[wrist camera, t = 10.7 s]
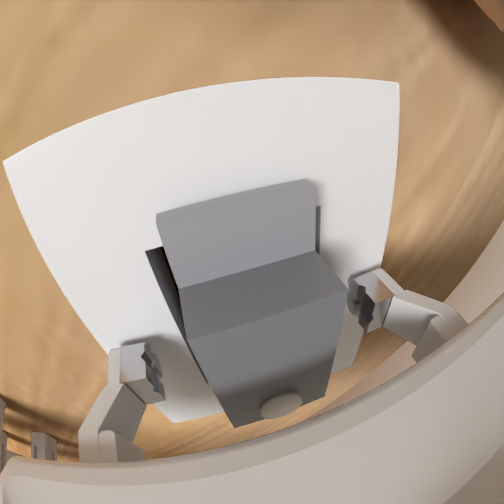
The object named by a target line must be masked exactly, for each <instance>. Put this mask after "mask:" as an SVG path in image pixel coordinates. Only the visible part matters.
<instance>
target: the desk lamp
mask: <svg viewBox="0 0 504 504" xmlns="http://www.w3.org/2000/svg"><path fill="white" fill-rule="evenodd" d="M474 1H475V2H476V4H477V5H478V6H479V7H480V8H481V9H482V10H483V11H484V13H485V14H486V15H487V16H488V17H489V18H490V19H492V20H493V21H494V22H495V24H496V25H497V27H498V28H499V29H500V30H501V31H503V32H504V0H474Z"/></svg>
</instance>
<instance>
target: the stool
mask: <svg viewBox="0 0 504 504" xmlns="http://www.w3.org/2000/svg"><path fill="white" fill-rule="evenodd" d="M5 405H6V403H5V402H4V401H3V400H2V399H1V398H0V474H1V472H2V470H3V469H4V467H5V465H6V449H7V434H6V433H5V432H3V431H2V429H3V420H4V412H5ZM31 458H34V459H42V460H52V461H57V440H55V439H54V438H52V437H51V436H49V435H48V434H46V433H41V432H32V438H31Z"/></svg>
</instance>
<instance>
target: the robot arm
mask: <svg viewBox="0 0 504 504" xmlns="http://www.w3.org/2000/svg"><path fill="white" fill-rule="evenodd" d="M348 287H349V288H350V291H349V292H348V293H347V299H346V302H347V307H348V309H349V311H350V312H351V314H352V315H354V316H356V317H358V323H359V324H360V326H361V327H362V328H363V330H364V331H365V332H366V333H369V332H371V331H373V330H375V329H378V328H380V327H382V326H383V328H385V329H387V330H389V331H390V332H392V333H394V334H396V335H398V336H400V337H402V338H404V339H406V340H407V341H409V342H412V343H413V344H415V345H417V347H416V348H415V350H414V352H413V354H412V357H413V358H414V360H415V361H416V362H417V363H416V364H415V365H413V366H411V367H410V368H408V369H406V370H405V371H403V372H402V373H400V374H398V375H397V376H395V377H393V378H392V379H390V380H388V381H386V382H385V383H383V384H381V385H380V386H378V387H376V388H374V389H372V390H370V391H369V392H367V393H365V394H363V395H361V396H359V397H357V398H355V399H353V400H351V401H349V402H347V403H345V404H343V405H340V406H338V407H336V408H334V409H332V410H330V411H327V412H325V413H323V414H320V415H318V416H316V417H313V418H311V419H308V420H306V421H303V422H301V423H298V424H295V425H293V426H290V427H287V428H285V429H282V430H279V431H276V432H273V433H270V434H267V435H264V436H260V437H257V438H254V439H251V440H247V441H244V442H240V443H236V444H232V445H228V446H224V447H220V448H216V449H211V450H207V451H202V452H197V453H192V454H186V455H180V456H174V457H167V458H159V459H151V460H147V459H146V453H145V451H144V450H143V449H141V448H140V447H138V446H136V445H134V444H133V443H132V442H133V439H134V437H135V434H136V432H137V429H138V426H139V424H140V421H141V419H142V416H143V414H144V411H145V408H146V405H147V404H152V403H156V402H161V401H165V400H166V398H165V391H164V385H163V384H162V383H161V382H160V380H161V378H162V369H161V366H160V362H159V360H158V358H157V356H156V355H155V354H154V353H152V352H151V347H150V346H149V344H148V343H147V342H143V343H138V344H133V345H128V346H123V347H118V348H113V349H110V351H109V357H108V386H104V388H103V390H102V391H101V393H100V395H99V396H98V398H97V400H96V401H95V403H94V405H93V406H92V408H91V410H90V412H89V413H88V415H87V417H86V419H85V420H84V422H83V424H82V426H81V427H80V429H79V431H78V442H79V462H65V461H52V460H42V459H34V458H28V457H22V456H13V457H12V458H10V460H9V461H8V462H7V464H6V465H5V467H4V469H3V470H2V472H1V474H0V504H504V293H503V294H502V295H501V296H500V297H499V298H498V299H496V300H495V301H494V302H493V303H492V304H491V305H490V306H489V307H488V308H487V309H486V310H485V311H484V312H483V313H481V314H480V315H479V316H478V317H477V318H476V319H474V320H473V321H472V322H471V323H470V324H468V323H467V322H466V321H465V320H464V319H463V318H462V317H461V315H460V314H459V313H458V312H457V311H456V310H455V309H454V308H453V307H452V306H451V305H448V304H445V303H443V302H440V301H437V300H434V299H432V298H429V297H426V296H423V295H420V294H418V293H415V292H412V291H409V290H405V291H404V290H403V289H402V288H401V287H400V286H399V285H398V284H397V283H396V282H395V281H394V280H393V279H392V278H391V277H390V276H389V275H388V274H387V273H386V272H385V271H384V270H383V269H381V268H379V269H376V270H373V271H371V272H368V273H365V274H363V275H360V276H358V277H355V278H353V279H351V280H350V281H349V284H348Z"/></svg>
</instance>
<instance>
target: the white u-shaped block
mask: <svg viewBox="0 0 504 504" xmlns="http://www.w3.org/2000/svg"><path fill="white" fill-rule="evenodd" d="M398 135H399V83H397V82H390V81H381V80H371V79H359V78H342V77H289V78H271V79H259V80H249V81H240V82H232V83H225V84H218V85H212V86H206V87H200V88H195V89H190V90H185V91H181V92H176V93H172V94H167V95H163V96H159V97H155V98H152V99H148V100H144V101H141V102H137V103H134V104H131V105H127V106H124V107H121V108H118V109H115V110H112V111H109V112H106V113H103V114H101V115H98V116H95V117H93V118H90V119H87V120H85V121H82V122H80V123H77V124H75V125H73V126H70V127H68V128H66V129H63V130H61V131H59V132H57V133H55V134H53V135H50V136H48V137H46V138H44V139H42V140H40V141H38V142H36V143H34V144H32V145H31V146H29V147H27V148H25V149H23V150H21V151H20V152H18V153H16V154H14V155H13V156H11V157H9V158H8V159H6V160H4V161H3V164H4V167H5V171H6V174H7V177H8V179H9V182H10V185H11V188H12V191H13V193H14V196H15V198H16V201H17V203H18V206H19V208H20V211H21V213H22V215H23V218H24V220H25V222H26V224H27V227H28V229H29V231H30V233H31V235H32V237H33V239H34V241H35V243H36V245H37V247H38V249H39V251H40V253H41V255H42V257H43V259H44V260H45V262H46V264H47V266H48V268H49V269H50V271H51V273H52V275H53V276H54V278H55V280H56V281H57V283H58V285H59V286H60V288H61V290H62V291H63V293H64V294H65V296H66V298H67V299H68V301H69V302H70V304H71V305H72V307H73V308H74V310H75V311H76V313H77V314H78V316H79V317H80V318H81V320H82V321H83V323H84V324H85V325H86V327H87V328H88V330H89V331H90V332H91V334H92V335H93V336H94V338H95V339H96V340H97V341H98V343H99V344H100V345H101V347H102V348H103V349H104V350H105V352H106V353H107V354H108V355H109V351H110V349H113V348H118V347H123V346H128V345H133V344H138V343H143V342H147V343H148V344H149V346H150V347H151V352H152V353H154V354H155V355H156V356H157V358H158V360H159V362H160V366H161V369H162V378H161V380H160V382H161V383H162V384H163V385H164V391H165V398H166V400H165V401H161V402H156V403H153V404H154V405H155V406H156V407H157V408H158V409H159V410H160V411H161V412H162V413H163V414H164V415H165V416H166V417H167V418H168V419H169V420H170V421H172V422H173V423H177V422H182V421H187V420H192V419H196V418H201V417H205V416H209V415H213V414H217V413H221V412H225V411H224V410H223V408H222V406H221V404H220V403H219V401H218V399H217V397H216V395H215V394H214V392H213V390H212V388H211V386H210V384H209V383H208V381H207V379H206V377H205V375H204V373H203V371H202V369H201V367H200V365H199V364H198V362H197V360H196V358H195V356H194V354H193V352H192V350H191V348H190V345H189V343H188V341H187V338H186V332H185V326H184V321H183V315H182V308H181V302H180V298H179V296H178V293H177V291H176V288H175V286H174V283H173V280H172V278H171V275H170V273H169V270H168V267H167V264H166V262H165V259H164V256H163V253H162V251H161V248H160V247H161V246H163V244H162V241H161V238H160V235H159V232H158V229H157V226H156V214H157V213H160V212H164V211H167V210H171V209H175V208H178V207H182V206H186V205H190V204H194V203H198V202H201V201H205V200H209V199H213V198H218V197H222V196H226V195H230V194H234V193H239V192H243V191H248V190H252V189H257V188H261V187H266V186H271V185H275V184H280V183H285V182H290V181H295V180H301V179H306V180H308V181H309V182H311V183H312V184H313V185H315V186H316V237H315V251H316V252H317V253H318V254H319V255H320V256H321V257H322V259H323V260H324V261H325V262H326V263H327V264H328V266H329V267H330V268H331V269H332V270H333V271H334V273H335V274H336V275H337V276H338V277H339V279H340V280H341V281H342V282H343V283H344V284H345V286H346V287H347V288H348V292H349V291H350V288H349V287H348V284H349V281H350V280H351V279H353V278H355V277H358V276H360V275H363V274H365V273H368V272H371V271H373V270H376V269H379V268H381V263H382V259H383V254H384V249H385V244H386V238H387V233H388V227H389V221H390V214H391V208H392V201H393V193H394V184H395V175H396V165H397V152H398ZM363 332H364V330H363V328H362V327H361V326H360V324H359V323H358V317H356V316H354V315H352V314H351V312H350V311H349V309H348V307H347V302H346V305H345V310H344V315H343V320H342V325H341V330H340V335H339V340H338V344H337V349H336V353H335V357H334V361H333V365H332V370H331V373H330V375H331V374H333V373H335V372H337V371H340V370H342V369H344V368H346V367H348V366H350V365H353V363H354V360H355V357H356V354H357V351H358V348H359V345H360V342H361V339H362V335H363Z"/></svg>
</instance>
